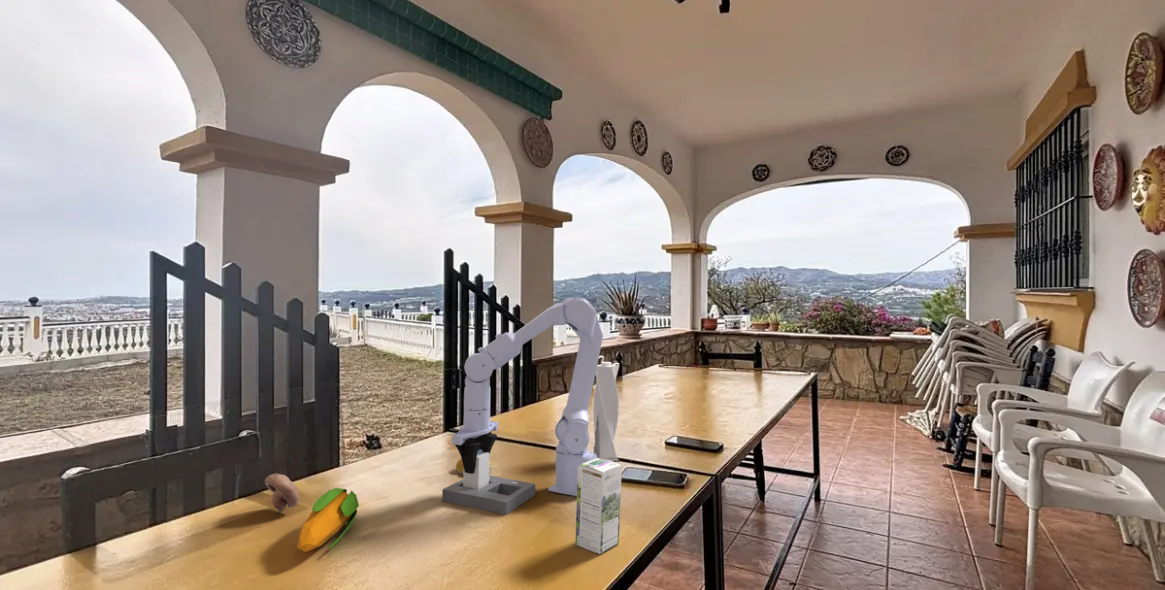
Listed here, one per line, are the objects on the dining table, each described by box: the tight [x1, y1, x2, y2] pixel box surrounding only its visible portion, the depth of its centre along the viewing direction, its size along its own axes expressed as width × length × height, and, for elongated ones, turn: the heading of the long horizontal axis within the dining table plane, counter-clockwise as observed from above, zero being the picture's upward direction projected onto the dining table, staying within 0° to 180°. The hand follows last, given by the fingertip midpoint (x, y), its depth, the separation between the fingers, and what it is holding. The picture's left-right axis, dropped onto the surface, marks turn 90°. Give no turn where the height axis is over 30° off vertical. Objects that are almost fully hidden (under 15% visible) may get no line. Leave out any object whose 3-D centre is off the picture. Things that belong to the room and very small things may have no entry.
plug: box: [462, 449, 490, 490], centre depth 116 cm, size 4×4×8 cm
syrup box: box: [574, 458, 622, 555], centre depth 93 cm, size 6×6×14 cm
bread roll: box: [455, 457, 493, 475], centre depth 132 cm, size 8×9×4 cm
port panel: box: [441, 474, 536, 516], centre depth 114 cm, size 16×12×3 cm
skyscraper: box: [592, 355, 620, 462], centre depth 146 cm, size 8×8×28 cm
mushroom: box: [264, 473, 300, 513], centre depth 104 cm, size 8×6×8 cm
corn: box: [296, 487, 360, 553], centre depth 93 cm, size 7×8×20 cm
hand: (475, 469), depth 116 cm, fingers closed on plug, 4 cm apart
